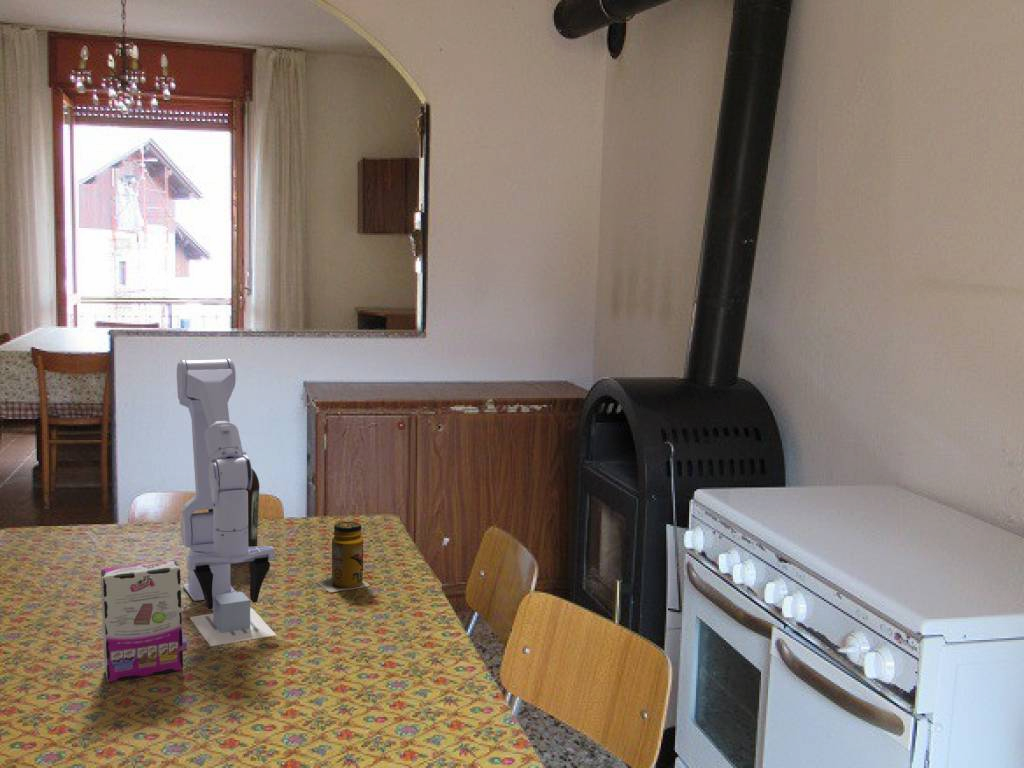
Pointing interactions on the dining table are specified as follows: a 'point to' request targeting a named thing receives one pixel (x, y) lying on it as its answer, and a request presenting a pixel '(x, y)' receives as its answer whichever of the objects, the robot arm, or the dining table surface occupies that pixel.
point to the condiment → (346, 558)
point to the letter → (217, 638)
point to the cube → (231, 612)
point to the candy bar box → (141, 620)
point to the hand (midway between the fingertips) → (231, 604)
